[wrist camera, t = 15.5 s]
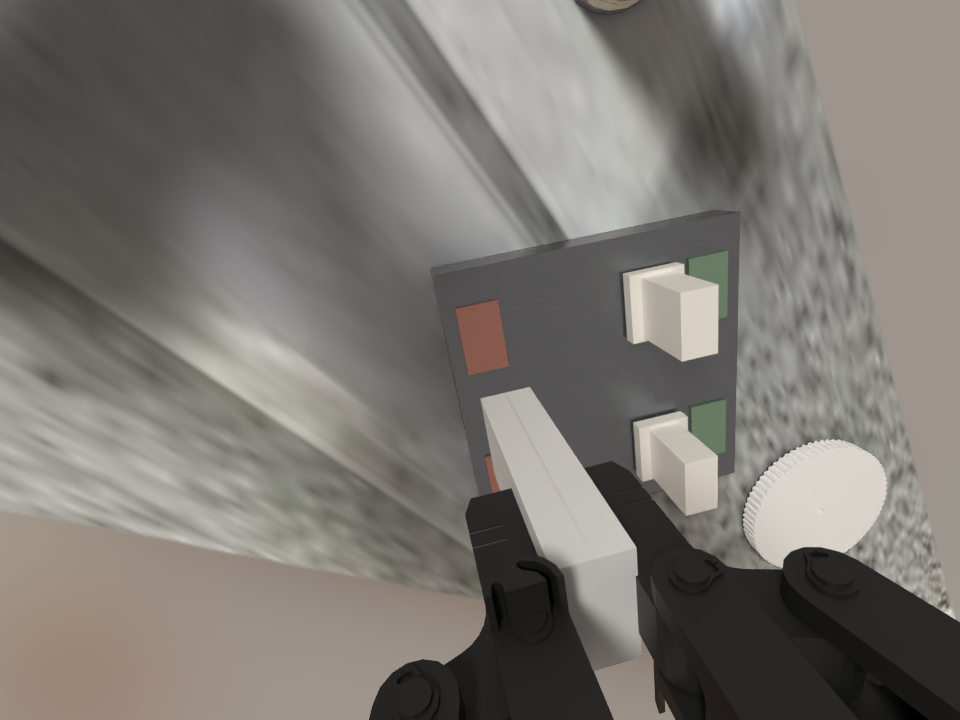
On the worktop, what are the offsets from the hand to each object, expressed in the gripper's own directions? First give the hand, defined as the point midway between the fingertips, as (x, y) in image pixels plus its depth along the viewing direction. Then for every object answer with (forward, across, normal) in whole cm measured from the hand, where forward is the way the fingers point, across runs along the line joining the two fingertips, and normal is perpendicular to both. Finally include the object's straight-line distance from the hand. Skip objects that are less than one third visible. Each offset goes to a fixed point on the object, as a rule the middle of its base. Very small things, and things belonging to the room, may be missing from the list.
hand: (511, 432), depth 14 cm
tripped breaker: (+18, +15, -16) cm, 28 cm away
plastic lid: (+22, +31, -29) cm, 48 cm away
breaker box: (+22, +11, -10) cm, 26 cm away
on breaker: (+19, +15, -4) cm, 24 cm away
